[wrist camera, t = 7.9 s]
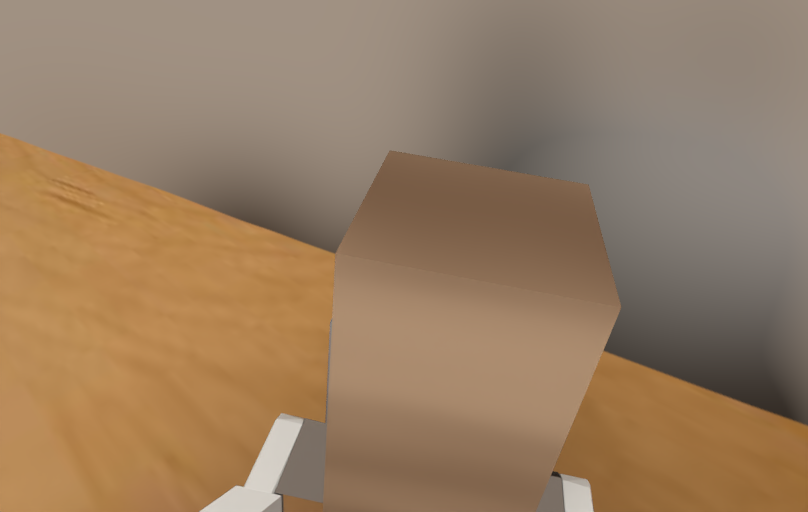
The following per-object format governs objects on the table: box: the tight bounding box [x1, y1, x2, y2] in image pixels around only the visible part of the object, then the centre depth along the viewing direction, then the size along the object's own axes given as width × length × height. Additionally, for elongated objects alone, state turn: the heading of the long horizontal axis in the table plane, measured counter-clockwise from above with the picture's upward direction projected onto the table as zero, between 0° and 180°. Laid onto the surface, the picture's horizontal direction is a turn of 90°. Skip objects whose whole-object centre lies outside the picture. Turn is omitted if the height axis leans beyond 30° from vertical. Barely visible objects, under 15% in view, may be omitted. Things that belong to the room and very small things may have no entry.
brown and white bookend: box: [323, 151, 621, 512], centre depth 13 cm, size 10×6×13 cm, turn 170°
